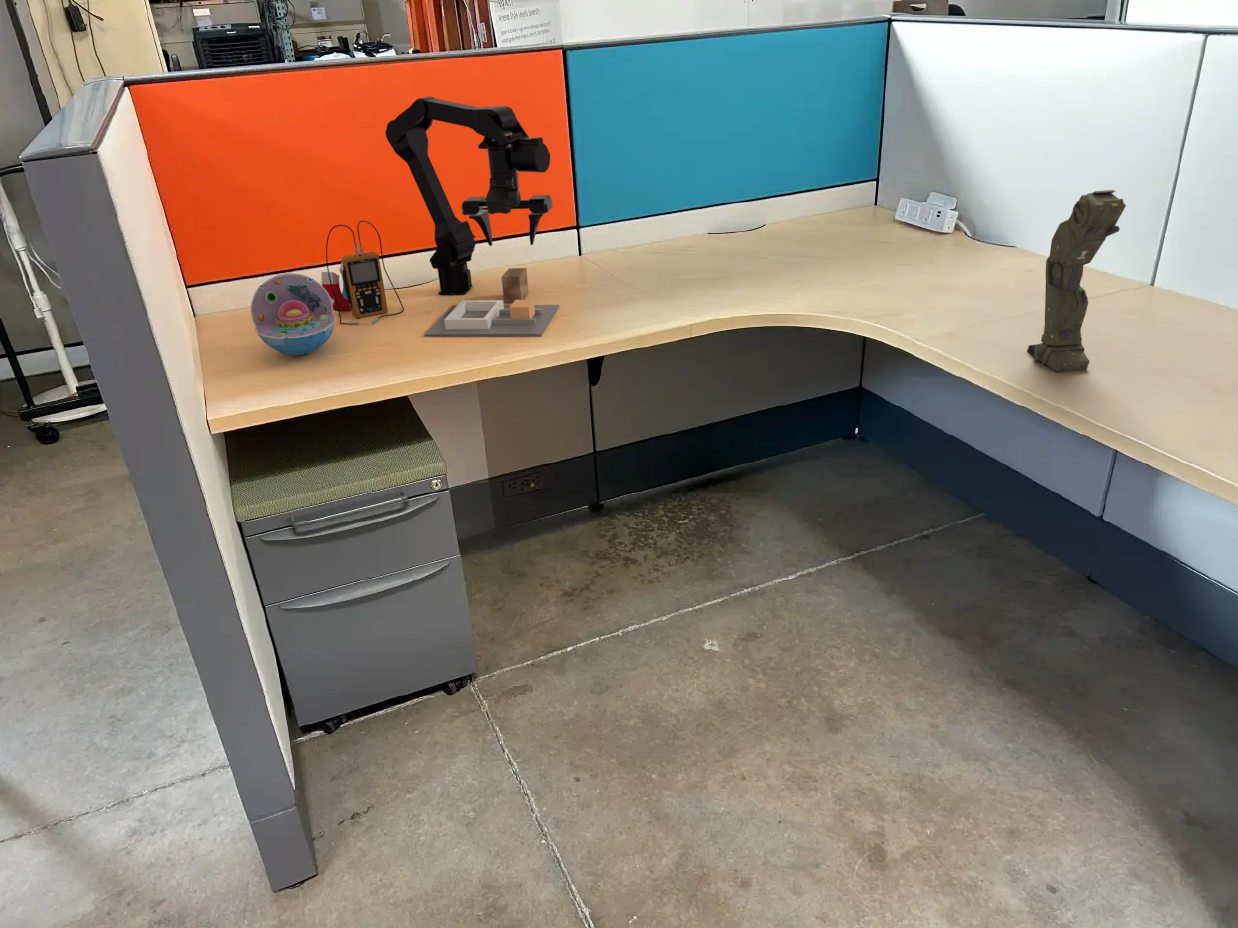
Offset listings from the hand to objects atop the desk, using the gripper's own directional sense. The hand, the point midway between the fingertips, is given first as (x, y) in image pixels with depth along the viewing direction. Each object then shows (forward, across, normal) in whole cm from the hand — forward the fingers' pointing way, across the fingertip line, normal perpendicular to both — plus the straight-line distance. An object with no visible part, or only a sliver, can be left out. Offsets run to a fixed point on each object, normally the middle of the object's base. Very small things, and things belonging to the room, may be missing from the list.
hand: (511, 245), depth 195 cm
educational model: (+12, -35, -34) cm, 50 cm away
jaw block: (+12, 0, 0) cm, 12 cm away
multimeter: (+12, -28, -14) cm, 34 cm away
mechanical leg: (+13, +104, -39) cm, 112 cm away
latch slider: (+12, +5, -16) cm, 21 cm away
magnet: (+12, -37, -8) cm, 40 cm away
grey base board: (+12, -1, -16) cm, 20 cm away
